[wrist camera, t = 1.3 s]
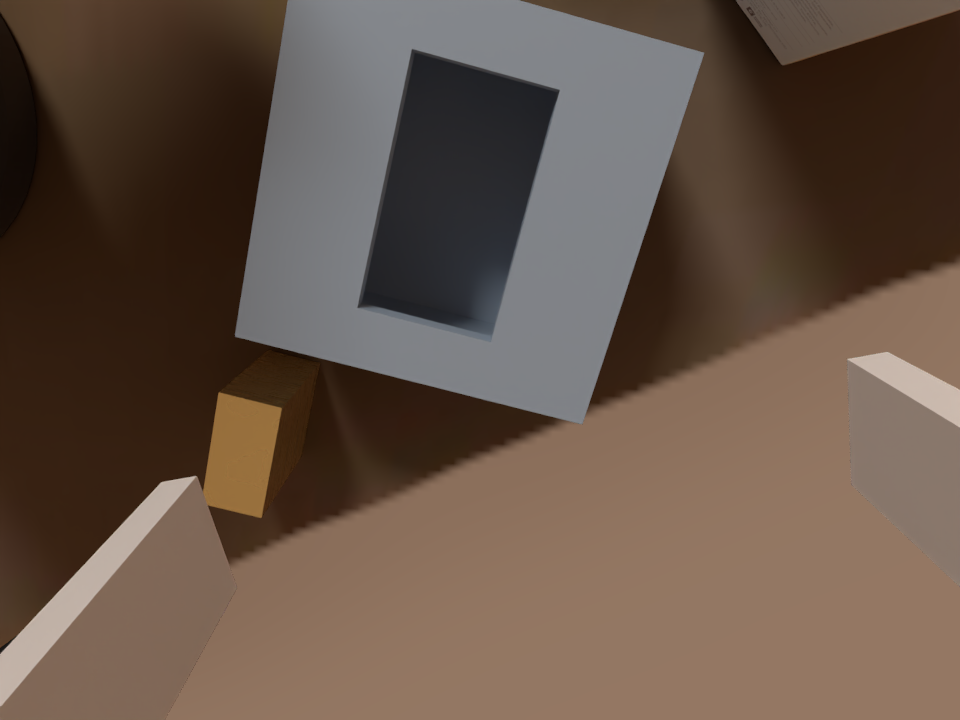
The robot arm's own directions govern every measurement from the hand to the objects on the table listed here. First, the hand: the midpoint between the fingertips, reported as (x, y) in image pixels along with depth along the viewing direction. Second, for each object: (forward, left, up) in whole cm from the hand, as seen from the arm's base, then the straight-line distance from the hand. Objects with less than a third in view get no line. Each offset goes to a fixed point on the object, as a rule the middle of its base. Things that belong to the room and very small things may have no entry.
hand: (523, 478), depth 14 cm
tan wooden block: (-9, -8, -18) cm, 22 cm away
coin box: (-3, +4, -18) cm, 19 cm away
